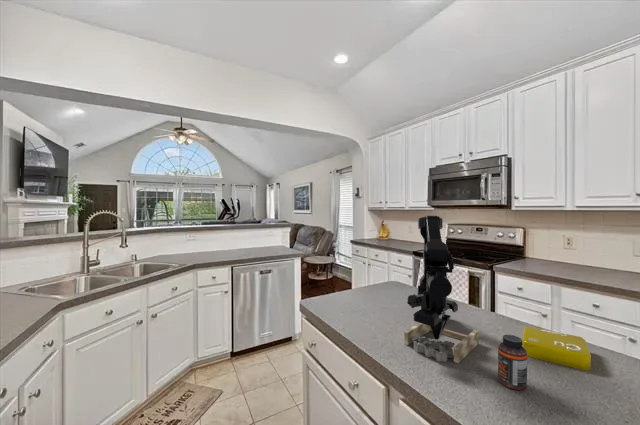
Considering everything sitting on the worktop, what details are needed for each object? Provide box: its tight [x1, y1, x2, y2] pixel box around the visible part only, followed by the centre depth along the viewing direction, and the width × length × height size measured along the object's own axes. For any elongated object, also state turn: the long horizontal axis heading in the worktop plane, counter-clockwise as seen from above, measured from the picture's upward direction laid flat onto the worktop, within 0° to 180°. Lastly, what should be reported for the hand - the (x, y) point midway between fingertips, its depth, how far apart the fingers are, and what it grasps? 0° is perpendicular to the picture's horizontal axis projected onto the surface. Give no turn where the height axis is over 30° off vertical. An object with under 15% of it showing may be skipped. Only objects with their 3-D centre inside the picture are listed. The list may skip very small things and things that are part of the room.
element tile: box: [522, 326, 592, 371], centre depth 87 cm, size 15×15×5 cm
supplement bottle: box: [497, 334, 528, 391], centre depth 71 cm, size 6×6×11 cm
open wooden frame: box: [403, 322, 480, 364], centre depth 92 cm, size 17×16×4 cm
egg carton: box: [412, 335, 456, 363], centre depth 87 cm, size 11×8×4 cm
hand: (436, 339), depth 90 cm, fingers closed
